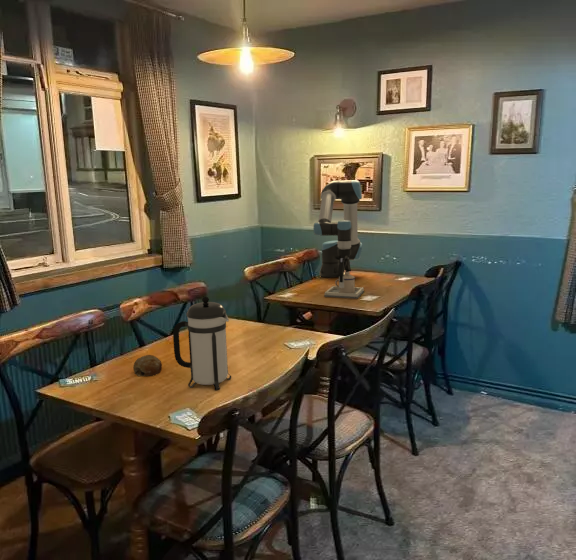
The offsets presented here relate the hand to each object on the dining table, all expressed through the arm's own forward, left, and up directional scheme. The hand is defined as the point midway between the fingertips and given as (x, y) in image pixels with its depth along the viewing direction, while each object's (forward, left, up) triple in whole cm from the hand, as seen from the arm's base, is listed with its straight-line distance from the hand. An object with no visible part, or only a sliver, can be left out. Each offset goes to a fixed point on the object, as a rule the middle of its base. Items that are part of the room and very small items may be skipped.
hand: (344, 285), depth 300 cm
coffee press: (+139, -14, -5) cm, 140 cm away
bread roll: (+135, -39, -6) cm, 141 cm away
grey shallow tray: (0, 0, -5) cm, 5 cm away
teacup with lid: (0, 0, -4) cm, 4 cm away
